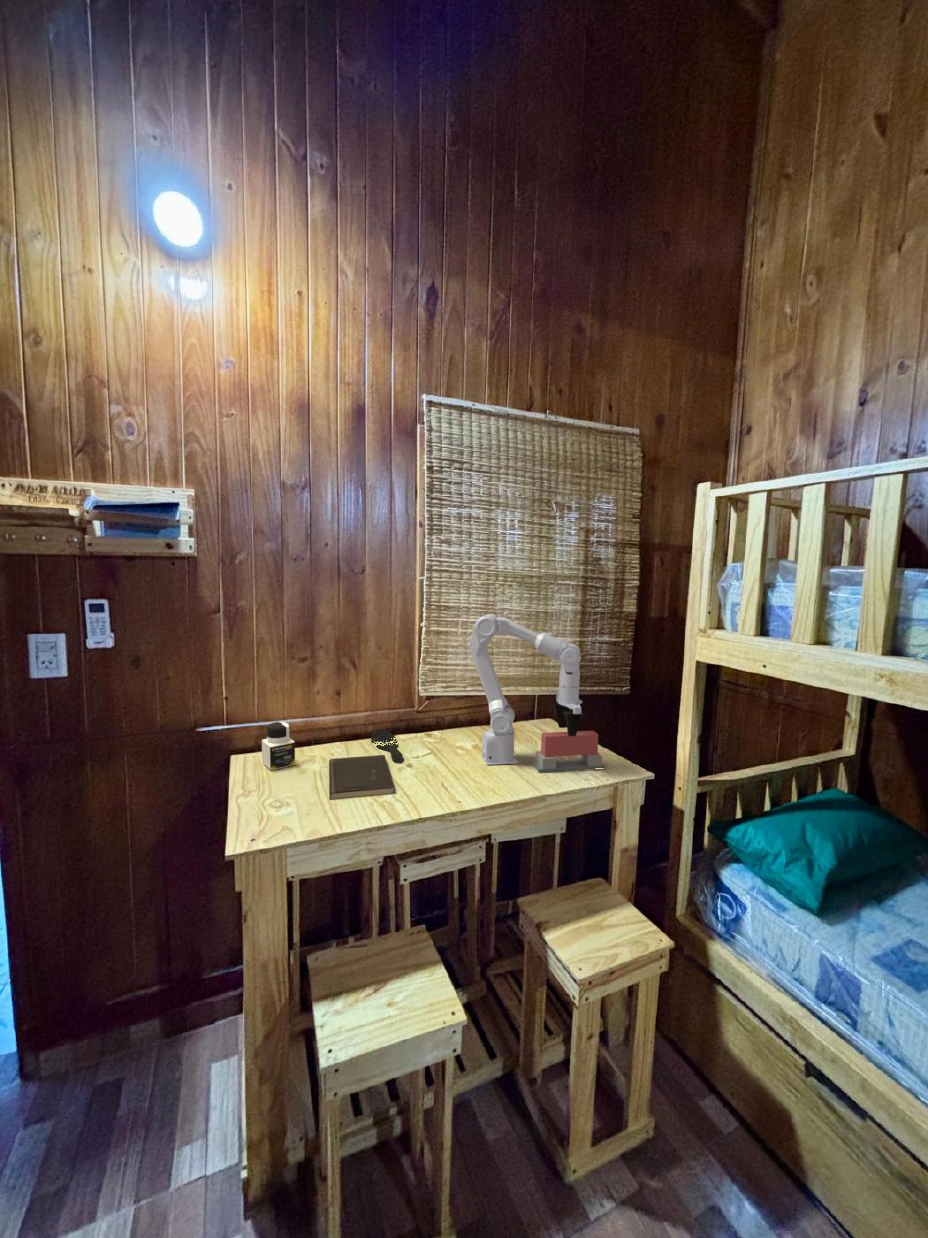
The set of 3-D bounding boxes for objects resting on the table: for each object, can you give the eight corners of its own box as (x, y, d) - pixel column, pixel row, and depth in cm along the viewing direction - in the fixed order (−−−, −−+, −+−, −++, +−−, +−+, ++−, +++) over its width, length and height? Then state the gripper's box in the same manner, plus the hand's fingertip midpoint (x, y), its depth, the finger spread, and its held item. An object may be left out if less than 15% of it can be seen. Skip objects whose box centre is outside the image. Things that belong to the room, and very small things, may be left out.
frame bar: (544, 757, 146) (545, 736, 145) (540, 752, 150) (541, 732, 149) (597, 754, 149) (598, 734, 148) (592, 750, 152) (593, 730, 152)
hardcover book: (384, 762, 152) (384, 754, 152) (394, 795, 130) (394, 786, 130) (329, 766, 148) (329, 758, 148) (329, 801, 126) (329, 792, 126)
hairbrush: (386, 757, 148) (367, 727, 171) (386, 769, 148) (367, 738, 171) (414, 754, 151) (392, 725, 174) (413, 766, 152) (391, 736, 174)
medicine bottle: (270, 771, 143) (269, 729, 141) (261, 763, 148) (261, 723, 147) (295, 765, 147) (295, 724, 146) (286, 758, 153) (285, 718, 151)
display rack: (538, 772, 145) (539, 759, 145) (532, 764, 151) (532, 751, 150) (604, 769, 148) (605, 755, 148) (595, 761, 154) (596, 748, 154)
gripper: (592, 691, 142) (590, 739, 143) (572, 680, 156) (570, 723, 157) (568, 692, 140) (566, 740, 142) (550, 680, 155) (548, 724, 156)
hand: (567, 731), depth 149 cm, fingers open, 7 cm apart
